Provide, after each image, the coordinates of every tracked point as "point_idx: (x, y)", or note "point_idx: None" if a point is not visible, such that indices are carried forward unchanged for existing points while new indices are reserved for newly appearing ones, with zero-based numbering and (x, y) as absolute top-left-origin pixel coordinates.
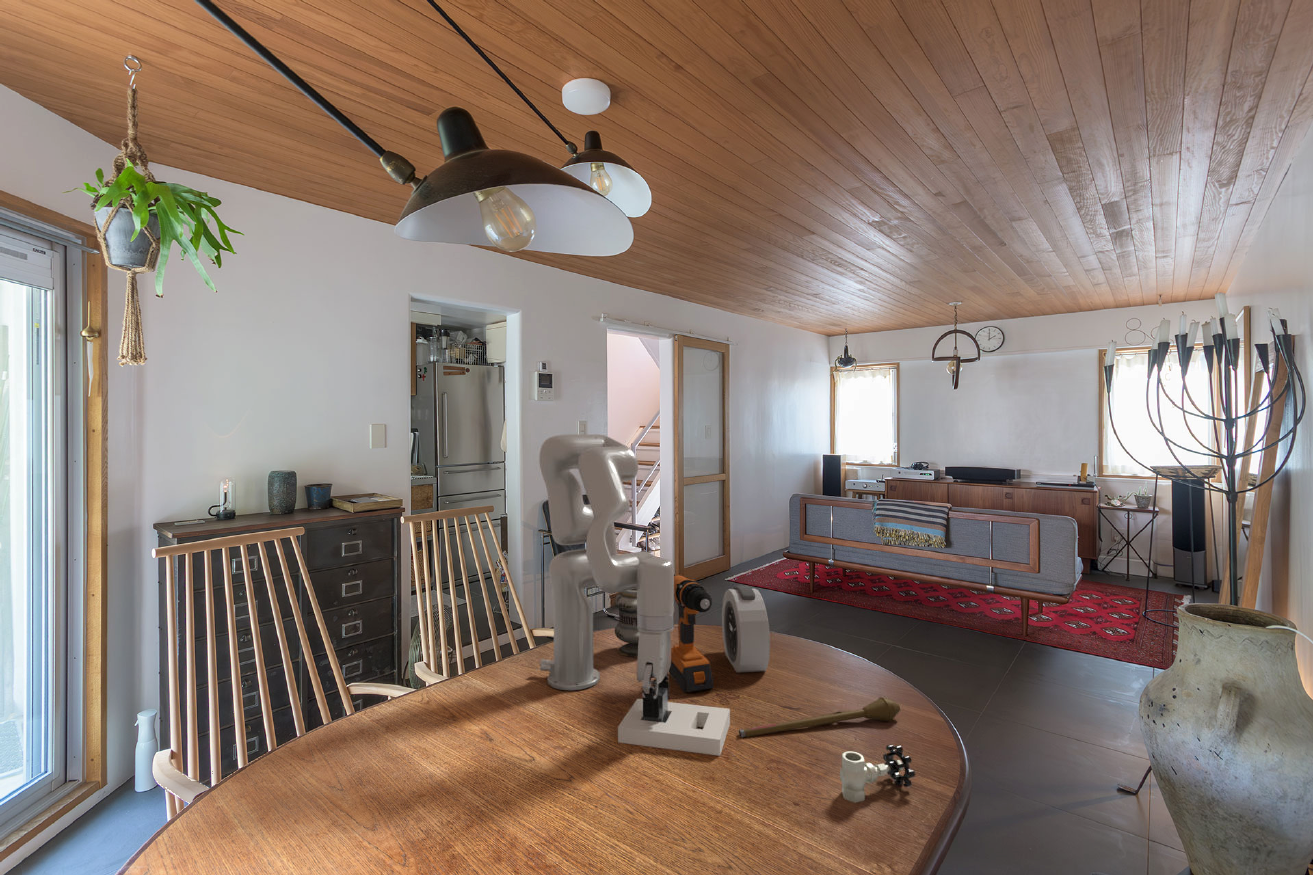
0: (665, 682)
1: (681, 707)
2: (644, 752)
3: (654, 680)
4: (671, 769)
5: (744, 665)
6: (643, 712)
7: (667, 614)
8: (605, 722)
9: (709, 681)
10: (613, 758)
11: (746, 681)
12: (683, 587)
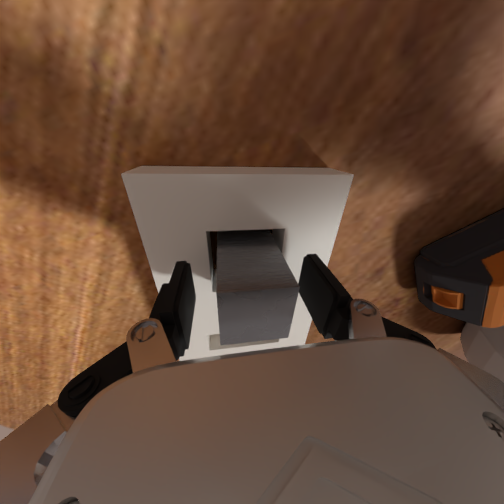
0: (324, 329)
1: (298, 298)
2: (131, 247)
3: (339, 299)
4: (102, 307)
5: (475, 331)
6: (174, 269)
7: None
8: (252, 65)
9: (428, 304)
10: (49, 182)
11: (433, 322)
12: None
